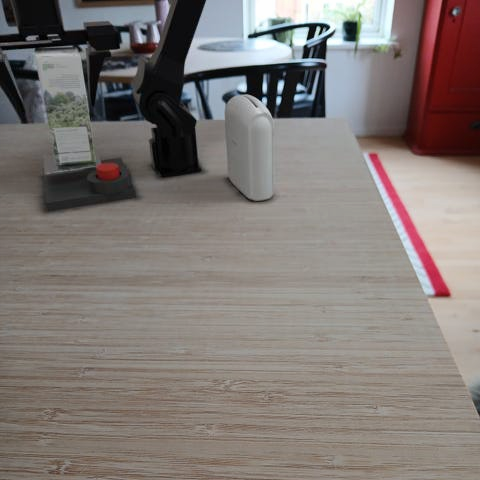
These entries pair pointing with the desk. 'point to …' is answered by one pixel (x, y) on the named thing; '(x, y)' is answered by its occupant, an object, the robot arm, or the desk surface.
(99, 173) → the button
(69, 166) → the weighing pan
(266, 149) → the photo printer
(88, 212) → the desk surface
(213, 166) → the desk surface
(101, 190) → the dark grey flat piece
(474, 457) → the desk surface
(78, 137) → the syrup box
